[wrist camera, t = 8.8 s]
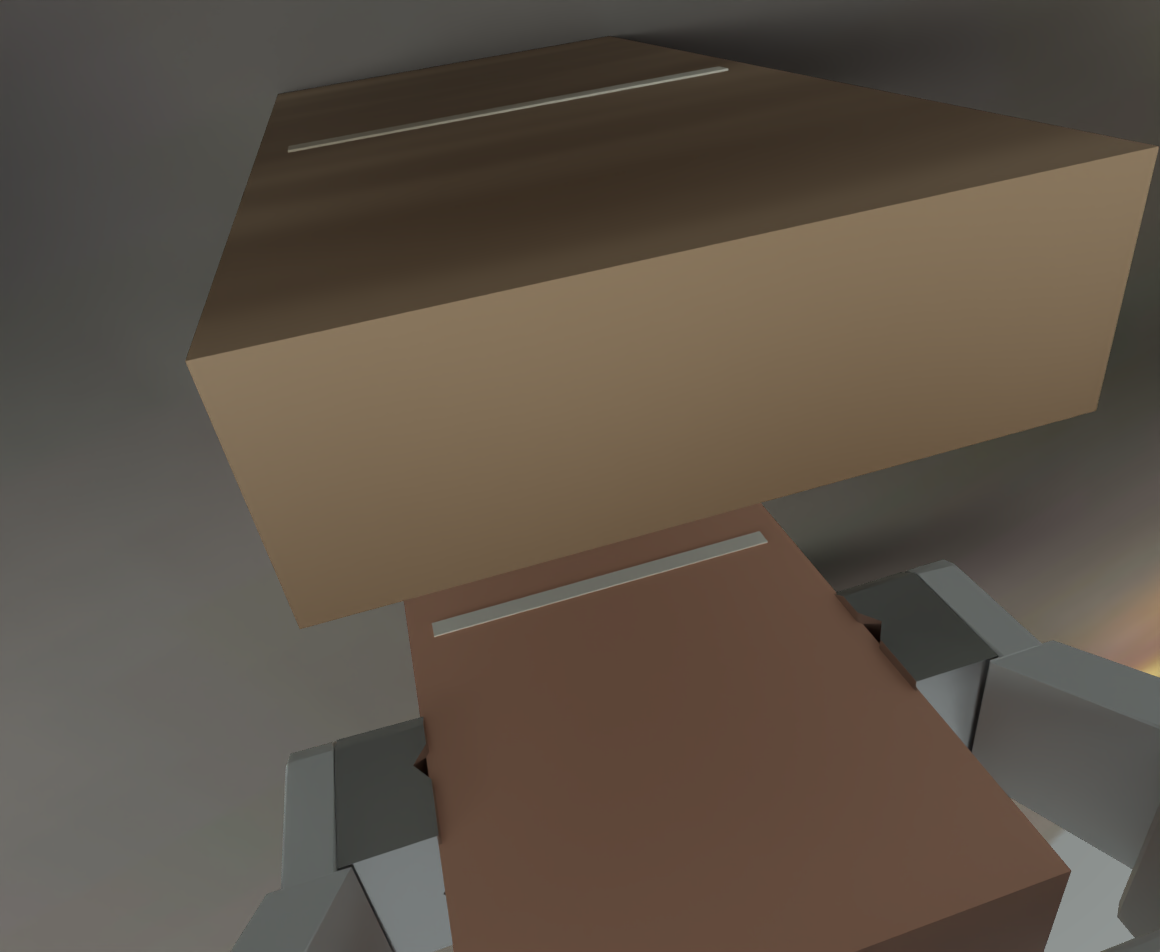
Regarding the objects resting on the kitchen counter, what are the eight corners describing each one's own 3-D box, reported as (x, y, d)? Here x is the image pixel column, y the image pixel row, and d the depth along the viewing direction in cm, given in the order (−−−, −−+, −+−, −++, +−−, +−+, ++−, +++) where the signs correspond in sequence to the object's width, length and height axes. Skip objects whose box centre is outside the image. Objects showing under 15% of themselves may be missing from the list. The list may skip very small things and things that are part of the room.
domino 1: (278, 92, 12) (182, 356, 4) (609, 34, 13) (1160, 141, 4) (312, 208, 13) (299, 633, 4) (620, 147, 14) (1095, 412, 5)
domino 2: (381, 444, 14) (473, 1092, 6) (655, 377, 15) (1071, 868, 7) (404, 520, 15) (513, 1178, 7) (662, 454, 16) (1037, 971, 8)
